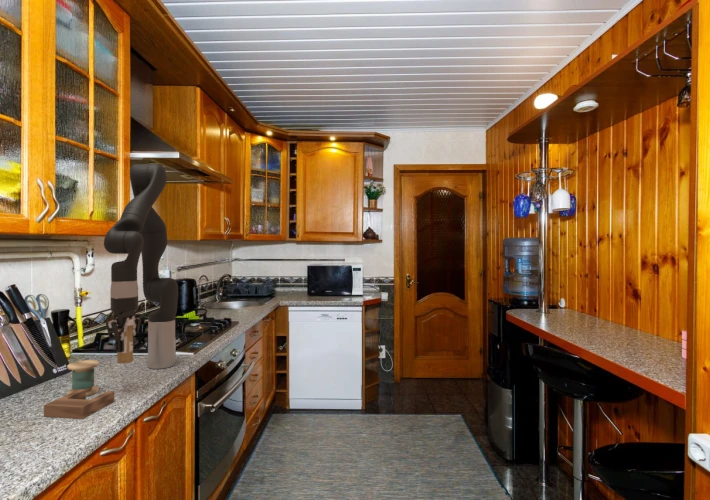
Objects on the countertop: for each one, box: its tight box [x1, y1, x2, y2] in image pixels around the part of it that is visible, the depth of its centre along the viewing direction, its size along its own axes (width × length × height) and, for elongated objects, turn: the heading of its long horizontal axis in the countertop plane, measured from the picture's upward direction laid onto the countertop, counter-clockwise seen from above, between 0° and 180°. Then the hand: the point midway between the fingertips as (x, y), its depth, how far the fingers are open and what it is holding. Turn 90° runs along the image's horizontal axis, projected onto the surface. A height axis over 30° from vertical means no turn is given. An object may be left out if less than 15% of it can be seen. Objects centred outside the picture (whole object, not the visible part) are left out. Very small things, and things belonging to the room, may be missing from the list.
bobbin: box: [66, 359, 100, 397], centre depth 124 cm, size 8×8×9 cm
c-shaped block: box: [43, 389, 115, 420], centre depth 112 cm, size 12×11×3 cm
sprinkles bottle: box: [116, 319, 134, 365], centre depth 126 cm, size 5×5×13 cm
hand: (125, 349), depth 126 cm, fingers closed on sprinkles bottle, 4 cm apart
